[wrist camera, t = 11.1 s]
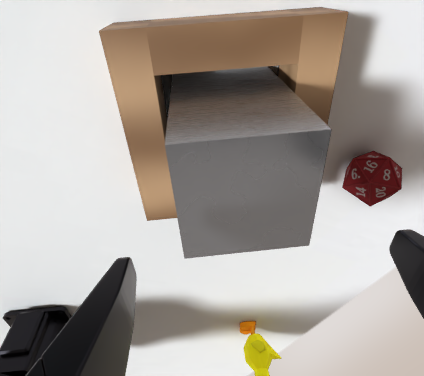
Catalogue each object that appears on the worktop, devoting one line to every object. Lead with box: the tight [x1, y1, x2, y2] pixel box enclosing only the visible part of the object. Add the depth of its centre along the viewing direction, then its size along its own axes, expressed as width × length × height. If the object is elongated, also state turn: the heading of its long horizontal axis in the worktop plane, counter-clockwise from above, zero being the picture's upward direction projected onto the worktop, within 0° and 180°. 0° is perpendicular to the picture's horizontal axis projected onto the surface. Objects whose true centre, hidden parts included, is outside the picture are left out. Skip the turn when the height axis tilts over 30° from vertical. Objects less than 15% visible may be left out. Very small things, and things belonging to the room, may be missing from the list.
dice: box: [342, 151, 402, 206], centre depth 22 cm, size 4×4×4 cm
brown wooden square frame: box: [99, 7, 348, 221], centre depth 19 cm, size 12×12×4 cm
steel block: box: [165, 66, 332, 258], centre depth 16 cm, size 6×6×10 cm
